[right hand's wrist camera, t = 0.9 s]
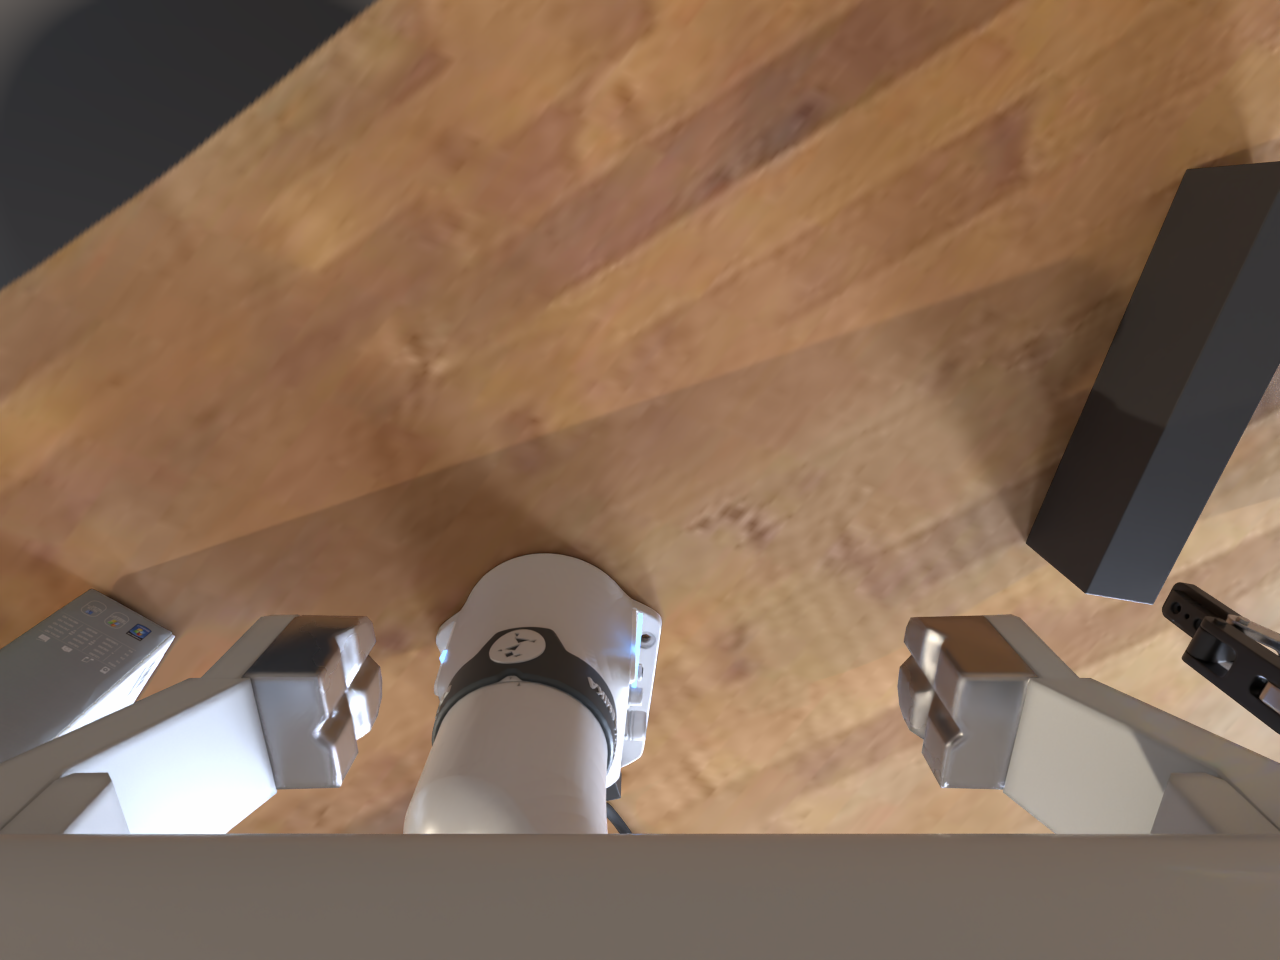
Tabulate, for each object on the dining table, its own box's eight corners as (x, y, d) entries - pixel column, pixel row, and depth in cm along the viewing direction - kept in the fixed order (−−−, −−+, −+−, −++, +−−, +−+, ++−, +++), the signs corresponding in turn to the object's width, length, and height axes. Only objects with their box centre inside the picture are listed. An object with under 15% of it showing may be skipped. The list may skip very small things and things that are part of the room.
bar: (1186, 169, 45) (1294, 159, 37) (1257, 184, 45) (1377, 177, 38) (1025, 543, 54) (1085, 593, 47) (1084, 553, 55) (1153, 605, 47)
